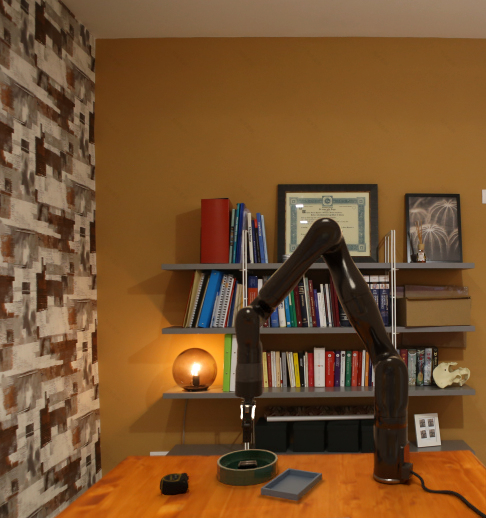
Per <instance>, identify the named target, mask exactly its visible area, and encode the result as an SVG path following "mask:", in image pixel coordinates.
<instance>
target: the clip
mask: <svg viewBox="0 0 486 518" xmlns="http://www.w3.org/2000/svg"><path fill="white" fill-rule="evenodd" d="M256 468H257V462H256V461H240V463H239V464H238V470H247V469H256Z"/></svg>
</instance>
